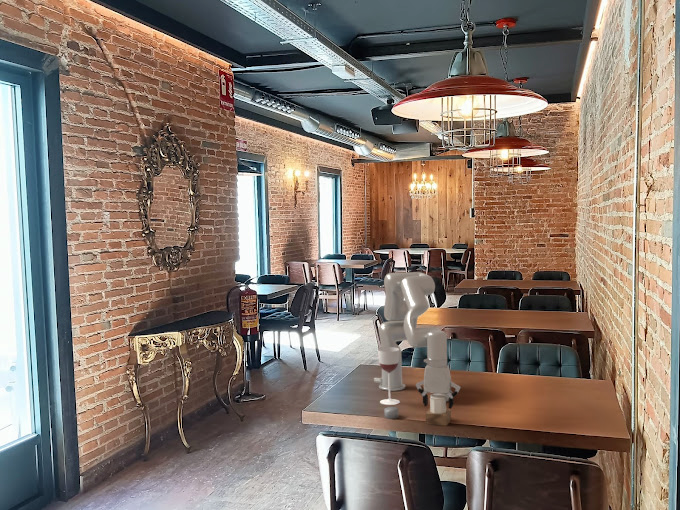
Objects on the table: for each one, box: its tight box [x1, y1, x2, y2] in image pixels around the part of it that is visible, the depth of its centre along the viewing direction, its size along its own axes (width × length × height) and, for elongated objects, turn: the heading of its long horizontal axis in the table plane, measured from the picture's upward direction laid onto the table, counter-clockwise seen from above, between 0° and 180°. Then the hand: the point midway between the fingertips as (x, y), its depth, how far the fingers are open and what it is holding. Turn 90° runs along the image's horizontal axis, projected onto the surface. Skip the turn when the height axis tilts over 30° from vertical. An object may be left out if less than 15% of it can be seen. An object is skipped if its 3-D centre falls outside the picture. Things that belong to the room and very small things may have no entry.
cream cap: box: [429, 393, 447, 414], centre depth 222 cm, size 6×6×6 cm
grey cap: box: [383, 406, 400, 420], centre depth 230 cm, size 6×6×3 cm
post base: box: [425, 408, 452, 426], centre depth 222 cm, size 8×8×8 cm
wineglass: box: [377, 347, 401, 406], centre depth 250 cm, size 9×10×23 cm
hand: (438, 406), depth 222 cm, fingers open, 9 cm apart
